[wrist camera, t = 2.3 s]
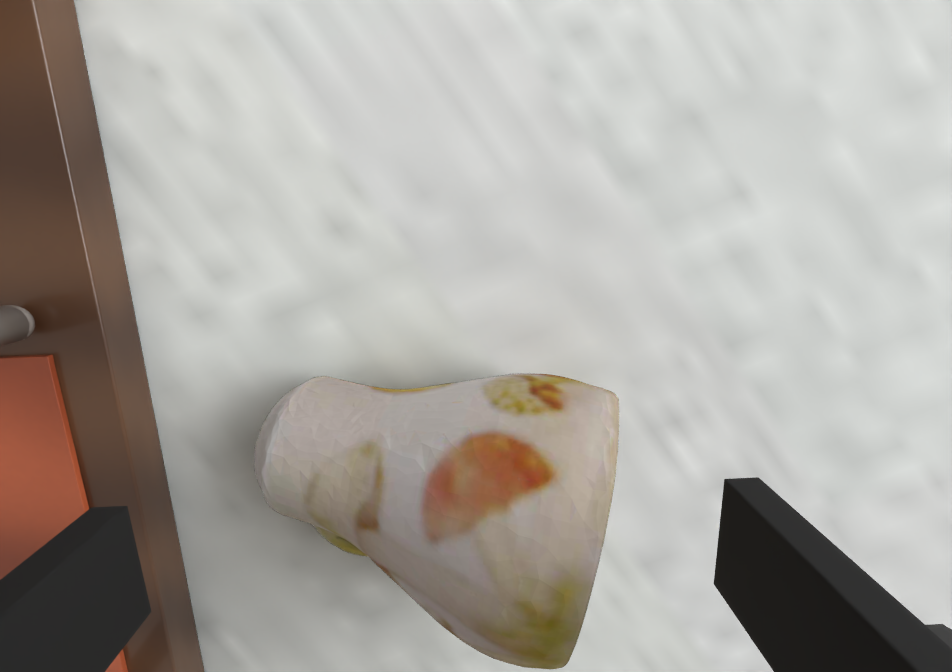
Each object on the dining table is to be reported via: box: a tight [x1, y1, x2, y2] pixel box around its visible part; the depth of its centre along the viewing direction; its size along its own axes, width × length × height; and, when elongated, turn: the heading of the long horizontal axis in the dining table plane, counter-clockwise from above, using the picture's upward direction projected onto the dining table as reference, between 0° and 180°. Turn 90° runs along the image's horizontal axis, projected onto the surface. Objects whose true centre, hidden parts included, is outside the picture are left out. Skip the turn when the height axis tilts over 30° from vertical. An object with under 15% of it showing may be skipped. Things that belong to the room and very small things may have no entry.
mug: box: [254, 374, 619, 669], centre depth 14 cm, size 8×10×10 cm
